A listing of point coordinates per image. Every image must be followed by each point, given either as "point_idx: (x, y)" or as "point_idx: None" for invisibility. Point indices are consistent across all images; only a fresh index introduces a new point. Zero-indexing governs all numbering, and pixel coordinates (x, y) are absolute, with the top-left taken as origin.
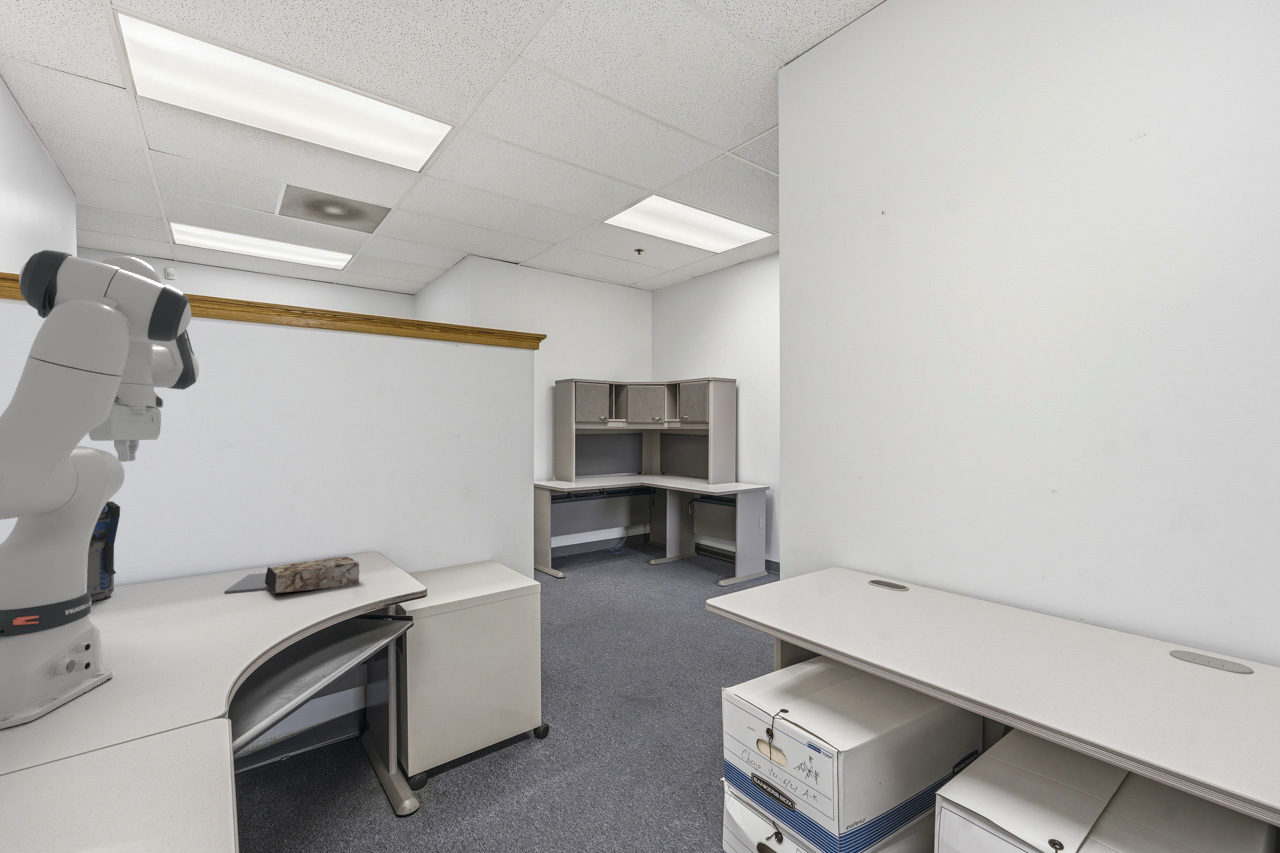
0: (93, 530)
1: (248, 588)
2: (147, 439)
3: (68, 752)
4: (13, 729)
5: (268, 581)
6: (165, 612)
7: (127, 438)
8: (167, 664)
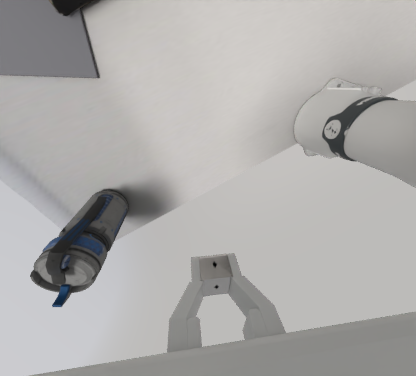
0: (93, 240)
1: (83, 44)
2: (95, 365)
3: None
4: None
5: (77, 1)
6: (167, 116)
7: (321, 336)
8: (328, 44)
